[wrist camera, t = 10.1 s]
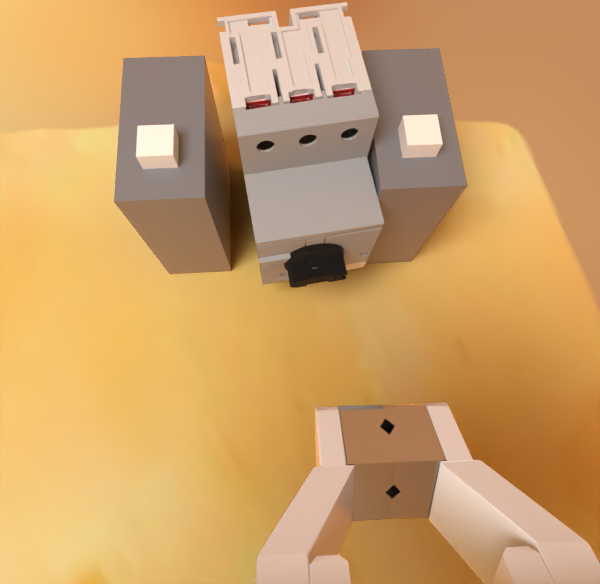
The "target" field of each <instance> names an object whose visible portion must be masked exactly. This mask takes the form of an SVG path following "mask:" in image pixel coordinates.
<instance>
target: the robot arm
mask: <svg viewBox="0 0 600 584" xmlns="http://www.w3.org/2000/svg"><path fill="white" fill-rule="evenodd" d="M315 446H316V467H313V469H312V470H311V472H310V474H309V475H308V477H307V478H306V480H305V481H304V483H303V485H302V486H301V488H300V489H299V491H298V492H297V494H296V496H295V497H294V499H293V500H292V502H291V503H290V505H289V507H288V508H287V510H286V511H285V513H284V514H283V516H282V518H281V519H280V521H279V522H278V524H277V525H276V527H275V529H274V530H273V532H272V533H271V535H270V536H269V538H268V540H267V541H266V543H265V544H264V546H263V548H262V549H261V551H260V552H259V554H258V555H257V566H256V583H255V584H351V580H350V572H349V564H348V561H347V560H345V559H344V558H343V557H342V556H340V555H338V554H339V552H340V549H341V547H342V545H343V542H344V540H345V538H346V535H347V533H348V531H349V529H350V526H351V523H352V521H363V520H376V519H389V518H390V519H393V518H429V521H430V522H431V523H432V524H433V526H434V527H435V528H436V529H437V530H438V531H439V533H440V534H441V535H442V536H443V537H444V538H445V539H446V541H447V542H448V543H449V544H450V545H451V546H452V548H453V549H454V550H455V551H456V552H457V553H458V554H459V556H460V557H461V558H462V559H463V560H464V561H465V562H466V564H467V565H468V566H469V567H470V568H471V569H472V571H473V572H474V573H475V574H476V575H477V576H478V577H479V579H480V580H481V581H482V582H483V583H484V584H600V562H599V560H598V559H597V557H596V555H595V554H594V552H593V550H592V549H591V547H590V545H589V544H588V542H587V541H585V540H584V539H583V538H582V537H580V536H579V535H578V534H576V533H575V532H574V531H572V530H571V529H570V528H569V527H567V526H566V525H565V524H563V523H562V522H561V521H559V520H558V519H557V518H555V517H554V516H553V515H552V514H550V513H549V512H548V511H546V510H545V509H544V508H542V507H541V506H540V505H539V504H537V503H536V502H535V501H533V500H532V499H531V498H529V497H528V496H527V495H526V494H524V493H523V492H522V491H520V490H519V489H518V488H516V487H515V486H514V485H512V484H511V483H510V482H509V481H507V480H506V479H505V478H503V477H502V476H501V475H499V474H498V473H497V472H496V471H494V470H493V469H492V468H490V467H489V466H488V465H486V464H485V463H484V462H483V461H481V460H473V458H472V456H471V453H470V451H469V449H468V447H467V445H466V442H465V440H464V438H463V436H462V434H461V432H460V429H459V427H458V425H457V423H456V421H455V418H454V416H453V414H452V412H451V410H450V408H449V405H448V404H447V403H446V402H430V403H423V404H422V403H411V404H391V405H372V406H338V408H337V407H316V409H315Z"/></svg>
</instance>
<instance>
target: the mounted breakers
mask: <svg viewBox="0 0 600 584" xmlns="http://www.w3.org/2000/svg"><path fill="white" fill-rule="evenodd" d="M362 57H363V60H364V64H365V67H366V71H367V74H368V78H369V81H370V85H371V88H372V92H373V95H374V99H375V102H376V106H377V109H378V113H379V118H378V122H377V125H376V128H375V132H374V135H373V139H372V142H371V146H370V149H369V153H368V156H367V159H368V163H369V167H370V170H371V174H372V178H373V182H374V185H375V189H376V193H377V197H378V200H379V204H380V208H381V212H382V215H383V219H384V225H383V227H382V229H381V232H380V234H379V236H378V238H377V240H376V242H375V244H374V246H373V249H372V251H371V253H370V255H369V257H368V259H367V261H366V263H365V264H368V263H387V262H406V261H412V259H413V258H414V257H415V255H416V254H417V253H418V251H419V250H420V249H421V247H422V246H423V245H424V243H425V242H426V240H427V239H428V238H429V236H430V235H431V234H432V232H433V231H434V230H435V228H436V227H437V226H438V224H439V223H440V222H441V220H442V219H443V217H444V216H445V215H446V213H447V212H448V211H449V209H450V208H451V207H452V205H453V204H454V203H455V201H456V200H457V198H458V197H459V196H460V194H461V193H462V192H463V190H464V189H465V188H466V186H467V183H466V178H465V173H464V168H463V163H462V158H461V153H460V148H459V143H458V138H457V133H456V128H455V123H454V118H453V114H452V109H451V103H450V99H449V94H448V89H447V84H446V79H445V74H444V70H443V64H442V59H441V54H440V49H439V48H436V49H403V50H373V51H372V50H371V51H362ZM120 106H121V107H120V121H119V136H118V151H117V166H116V181H115V196H114V202H115V203H116V205H117V206H118V207H119V209H120V210H121V211H122V212H123V214H124V215H125V216H126V218H127V219H128V220H129V222H130V223H131V224H132V225H133V227H134V228H135V229H136V231H137V232H138V233H139V235H140V236H141V237H142V238H143V240H144V241H145V242H146V244H147V245H148V246H149V248H150V249H151V250H152V251H153V253H154V254H155V255H156V257H157V258H158V259H159V261H160V262H161V263H162V264H163V266H164V267H165V268H166V270H167V271H168V272H169V273H170V274H179V273H198V272H217V271H231V232H230V184H229V162H228V158H227V154H226V149H225V145H224V140H223V136H222V131H221V127H220V123H219V118H218V114H217V109H216V105H215V100H214V96H213V91H212V87H211V83H210V78H209V74H208V69H207V65H206V60H205V56H180V57H151V58H150V57H148V58H124V60H123V75H122V90H121V105H120Z"/></svg>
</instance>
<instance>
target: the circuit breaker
mask: <svg viewBox="0 0 600 584" xmlns="http://www.w3.org/2000/svg"><path fill="white" fill-rule="evenodd" d="M347 7H348V5H347V2H345V3H337V4H328V5H320V6H312V7H304V8H296V9H290V17H289V19H290V20H289V26H288V27H279V25H278V21H277V16H276V12H275V11H270V12H262V13H254V14H245V15H237V16H229V17H220V18H217V22H218V27H220V26H225V29H226V32H220V33H219V34H220V39H221V45H222V51H223V57H224V63H225V69H226V75H227V80H228V86H229V92H230V98H231V104H232V109H233V115H234V121H235V127H236V133H237V138H238V144H239V150H240V156H241V161H242V167H243V173H244V179H245V184H246V190H247V196H248V202H249V208H250V213H251V219H252V225H253V231H254V237H255V243H256V248H257V254H258V260H259V265H260V271H261V277H262V282H263V285H264V284H270V283H276V282H282V281H288V280H289V282H290V287H302V286H307V284H312V283H318V282H324V281H329V282H331V281H337V280H343V279H346V277H345V275H347V270H353V269H359V268H364V265H365V263H366V261H367V259H368V257H369V255H370V253H371V251H372V249H373V246H374V244H375V242H376V240H377V238H378V236H379V234H380V232H381V229H382V227H383V225H384V219H383V215H382V212H381V208H380V204H379V200H378V197H377V193H376V189H375V185H374V182H373V178H372V174H371V170H370V167H369V163H368V159H367V156H368V153H369V149H370V146H371V142H372V139H373V135H374V132H375V128H376V125H377V122H378V118H379V113H378V109H377V106H376V102H375V99H374V95H373V92H372V88H371V85H370V81H369V78H368V74H367V71H366V67H365V64H364V60H363V57H362V53H361V50H360V47H359V43H358V40H357V36H356V33H355V29H354V26H353V22H352V19H351V17H344V15H343V12H344V11H347ZM310 16H315V18H311V19H303V20H300V18H301V17H310ZM261 22H266V24H262V25H253V26H250V24H253V23H261Z"/></svg>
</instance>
